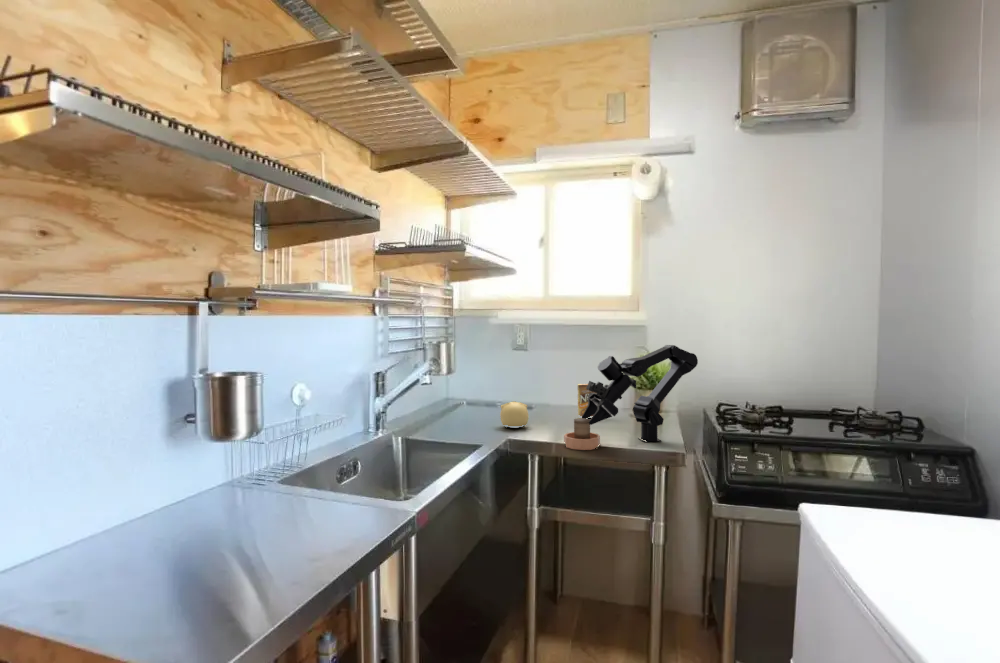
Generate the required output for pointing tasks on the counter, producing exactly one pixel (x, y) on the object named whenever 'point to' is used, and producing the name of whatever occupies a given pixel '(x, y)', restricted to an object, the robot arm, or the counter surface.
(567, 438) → the terracotta dish
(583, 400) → the candy box
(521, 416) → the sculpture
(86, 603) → the counter surface
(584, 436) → the walnut canister
